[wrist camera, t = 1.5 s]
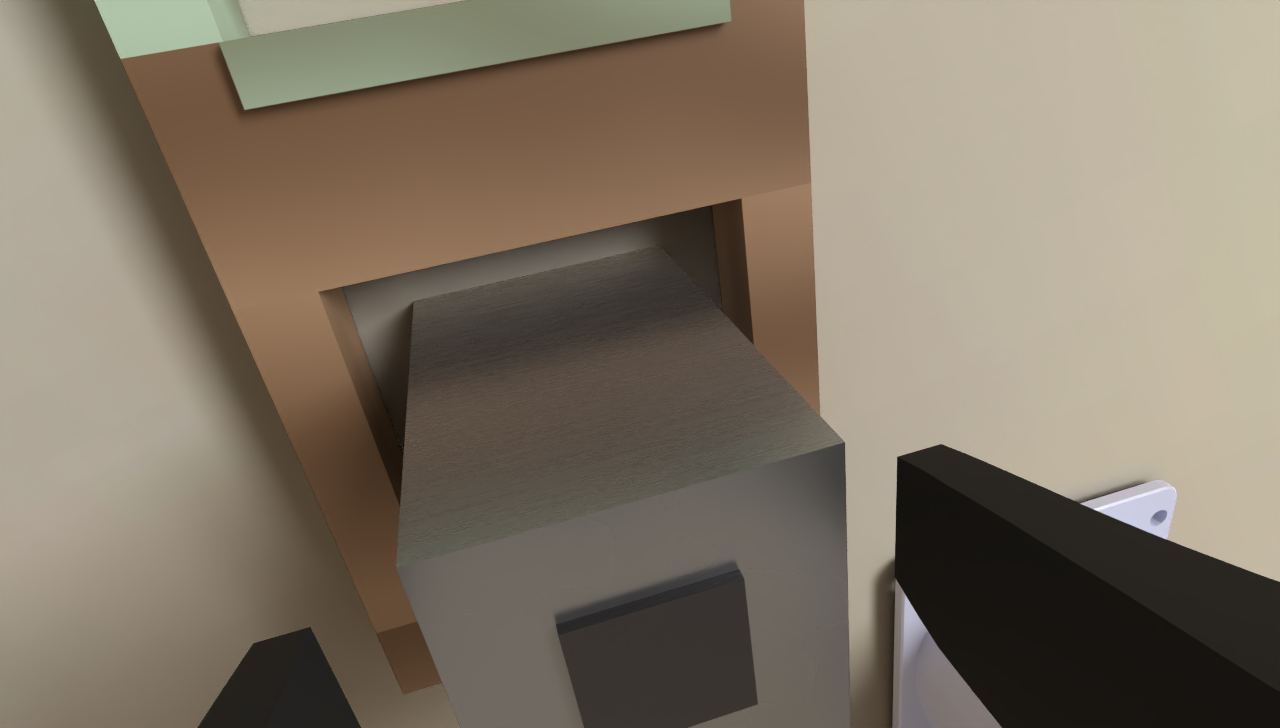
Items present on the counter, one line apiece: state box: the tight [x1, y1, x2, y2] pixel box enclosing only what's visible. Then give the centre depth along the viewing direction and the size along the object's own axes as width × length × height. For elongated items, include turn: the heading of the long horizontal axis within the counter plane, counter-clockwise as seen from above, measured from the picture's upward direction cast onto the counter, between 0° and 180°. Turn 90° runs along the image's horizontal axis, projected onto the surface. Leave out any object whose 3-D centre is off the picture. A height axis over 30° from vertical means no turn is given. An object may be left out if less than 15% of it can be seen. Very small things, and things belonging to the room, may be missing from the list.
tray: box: [94, 0, 820, 694], centre depth 11 cm, size 20×9×2 cm, turn 9°
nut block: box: [396, 246, 851, 728], centre depth 11 cm, size 4×4×7 cm
